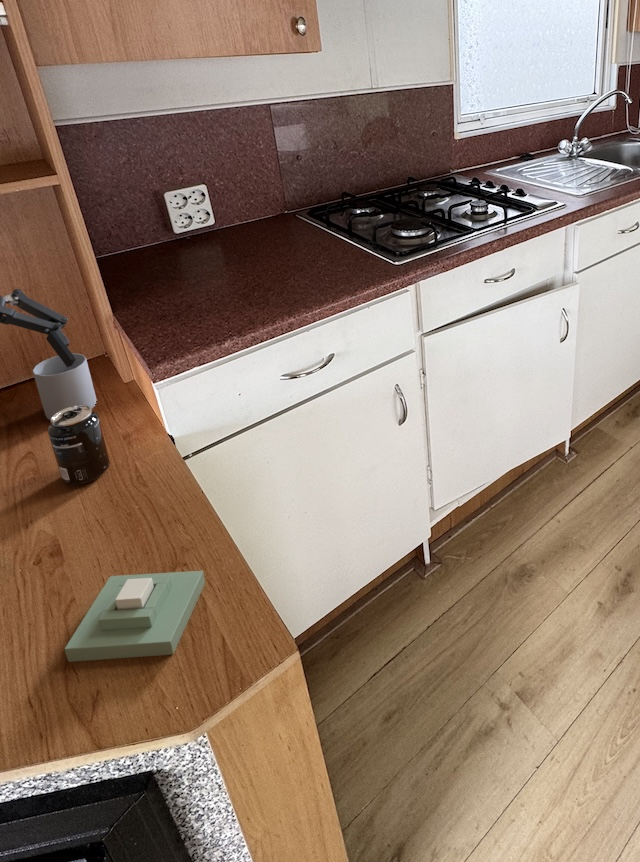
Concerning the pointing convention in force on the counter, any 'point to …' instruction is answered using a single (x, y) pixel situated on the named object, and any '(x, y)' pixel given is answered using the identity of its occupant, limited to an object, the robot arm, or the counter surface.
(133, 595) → the small white rectangular block
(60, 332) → the robot arm
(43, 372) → the cup
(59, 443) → the beverage can
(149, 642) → the tiered green stack
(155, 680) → the counter surface
